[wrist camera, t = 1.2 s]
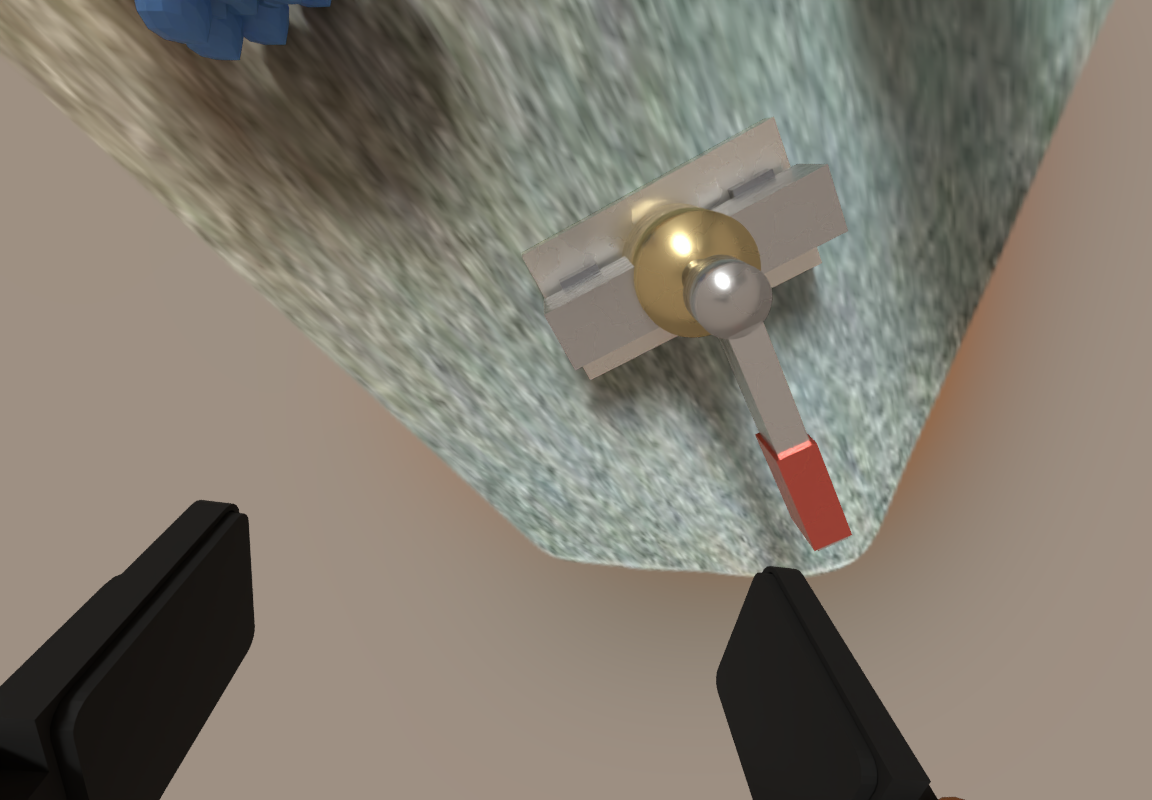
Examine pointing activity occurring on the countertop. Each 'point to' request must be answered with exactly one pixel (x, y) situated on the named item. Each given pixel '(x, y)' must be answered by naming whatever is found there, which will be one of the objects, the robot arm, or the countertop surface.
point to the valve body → (680, 245)
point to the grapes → (220, 23)
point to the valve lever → (766, 391)
